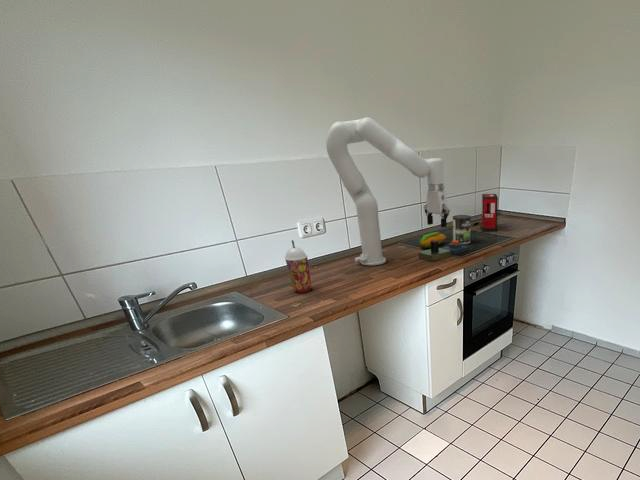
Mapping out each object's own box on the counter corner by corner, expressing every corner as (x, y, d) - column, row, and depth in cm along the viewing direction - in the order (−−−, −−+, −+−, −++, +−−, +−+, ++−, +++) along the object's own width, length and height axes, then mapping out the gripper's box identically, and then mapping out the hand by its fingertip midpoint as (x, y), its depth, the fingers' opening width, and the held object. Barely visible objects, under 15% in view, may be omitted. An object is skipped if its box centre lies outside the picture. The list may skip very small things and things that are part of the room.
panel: (432, 261, 188) (432, 255, 187) (418, 258, 194) (418, 251, 193) (450, 256, 196) (450, 250, 194) (437, 252, 202) (437, 246, 201)
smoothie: (289, 290, 157) (277, 240, 147) (308, 285, 162) (297, 236, 152) (298, 295, 152) (286, 244, 142) (317, 289, 157) (307, 240, 147)
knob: (440, 251, 194) (440, 240, 191) (434, 252, 191) (434, 241, 188) (434, 249, 196) (434, 239, 193) (429, 251, 194) (428, 240, 191)
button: (455, 245, 200) (455, 242, 199) (450, 244, 202) (450, 241, 202) (460, 244, 202) (460, 240, 202) (455, 243, 205) (455, 239, 204)
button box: (454, 254, 198) (454, 247, 196) (442, 251, 204) (441, 244, 202) (468, 250, 205) (468, 243, 203) (456, 247, 210) (456, 240, 208)
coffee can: (474, 242, 221) (474, 216, 213) (460, 245, 215) (460, 218, 208) (462, 239, 228) (462, 214, 220) (449, 242, 222) (448, 216, 215)
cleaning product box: (496, 231, 244) (497, 197, 234) (482, 231, 244) (483, 197, 234) (494, 225, 258) (496, 193, 248) (481, 226, 258) (482, 194, 248)
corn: (415, 234, 206) (440, 227, 219) (415, 248, 210) (439, 241, 223) (425, 237, 202) (450, 230, 215) (425, 251, 206) (449, 244, 219)
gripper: (454, 188, 177) (454, 226, 186) (429, 185, 188) (430, 222, 196) (442, 190, 172) (443, 229, 181) (417, 187, 183) (419, 224, 192)
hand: (436, 225), depth 189 cm, fingers open, 9 cm apart
